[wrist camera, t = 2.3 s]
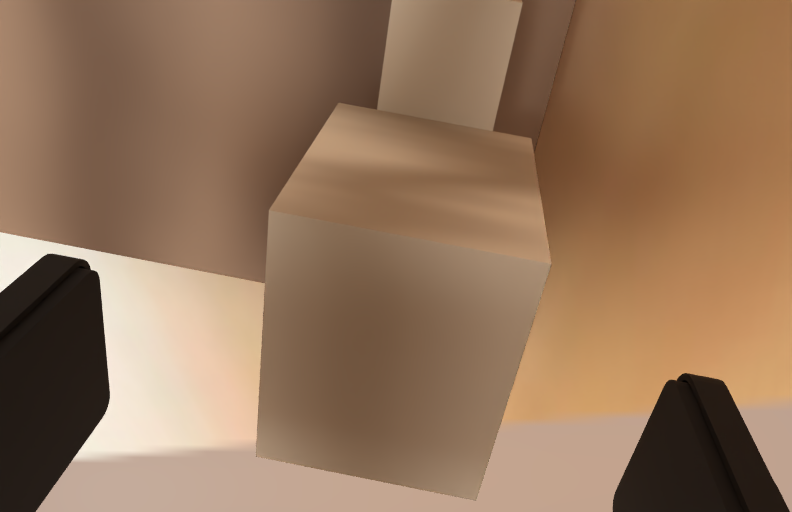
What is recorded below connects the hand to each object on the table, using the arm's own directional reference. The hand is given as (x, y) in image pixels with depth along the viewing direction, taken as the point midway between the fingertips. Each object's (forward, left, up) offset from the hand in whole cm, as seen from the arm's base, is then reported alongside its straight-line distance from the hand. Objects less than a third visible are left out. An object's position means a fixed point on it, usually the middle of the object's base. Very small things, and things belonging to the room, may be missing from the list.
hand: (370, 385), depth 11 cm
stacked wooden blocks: (0, 0, -9) cm, 9 cm away
